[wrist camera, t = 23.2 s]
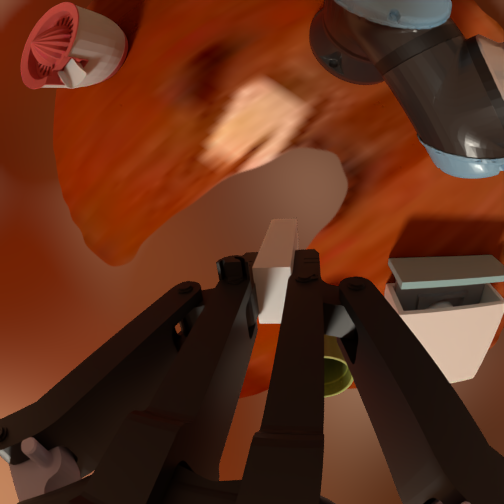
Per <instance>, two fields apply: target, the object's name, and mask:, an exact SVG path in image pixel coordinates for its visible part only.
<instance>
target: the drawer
mask: <svg viewBox="0 0 504 504" xmlns="http://www.w3.org/2000/svg"><path fill="white" fill-rule="evenodd" d="M388 265H389V267H390V269H391V271H392V273H393V274H394V276H395V278H396V281H395V288H394V291H395V293H396V295H397V297H398V299H399V302H400V304H401V306H402V309H403V311H411V310H424V309H427V308H428V307H429V306H430V305H432V304H433V303H435V302H438V301H448V302H450V303H451V304H452V306H453V307H455V306H464V305H472V304H479V303H480V300H481V296H482V293H483V290H484V286H485V283H493V282H503V281H504V265H503V264H502V263H500V262H499V261H498V260H497V259H496V258H495V257H494V256H493V255H472V256H445V257H414V258H389V261H388Z"/></svg>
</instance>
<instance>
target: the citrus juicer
mask: <svg viewBox="0 0 504 504" xmlns="http://www.w3.org/2000/svg"><path fill="white" fill-rule="evenodd" d="M127 52H128V40H127V37H126V35H125V33H124V32H123V30H122V29H121V28H120V27H119V26H118V25H117V24H116V23H114V22H113V21H112V20H110V19H109V18H107V17H105V16H103V15H101V14H98V13H96V12H93V11H90V10H87V9H84V8H81V7H78V6H76V5H75V4H73V3H71V2H64V3H60V4H58V5H56V6H54V7H53V8H51V9H50V10H49V11H48V12H47V13H46V14H44V15H43V17H42V18H41V19H40V20H39V21H38V22H37V24H36V25H35V27H34V28H33V30H32V32H31V34H30V35H29V38H28V40H27V42H26V45H25V47H24V50H23V54H22V60H21V76H22V79H23V82H24V84H25V85H26V86H27V87H29V88H30V89H38V88H41V87H53V88H54V87H55V88H71V89H72V88H77V87H84V86H89V85H93V84H97V83H100V82H102V81H105V80H107V79H108V78H110V77H112V76H113V75H114V74H115V73H116V72H117V71H118V70H119V69H120V67H121V66H122V64H123V62H124V60H125V58H126V55H127Z"/></svg>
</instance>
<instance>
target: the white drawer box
mask: <svg viewBox="0 0 504 504" xmlns="http://www.w3.org/2000/svg"><path fill="white" fill-rule="evenodd" d="M394 288H395V283H386V288H385V295H384V297H385V299H386V300H387V301H388V302H389V303H390V305H391V306H392V307H393V308H394V310H395V311H396V312H397V313H398V314H399V316H400V317H401V318H402V319H403V321H404V322H405V323H406V325H407V326H408V327H409V328H410V330H411V331H412V332H413V334H414V335H415V336H416V337H417V339H418V340H419V341H420V343H421V344H422V345H423V347H424V348H425V349H426V351H427V352H428V353H429V355H430V356H431V357H432V359H433V360H434V362H435V363H436V364H437V366H438V367H439V368H440V370H441V371H442V373H443V374H444V375H445V377H446V378H447V380H448V381H449V383H455V382H459V381H463V380H468V379H472V378H474V376H475V374H476V372H477V371H478V368H479V367H480V364H481V363H482V361H483V359H484V357H485V355H486V353H487V351H488V349H489V346H490V344H491V342H492V340H493V337H494V335H495V333H496V330H497V328H498V326H499V323H500V321H501V318H502V315H503V313H504V299H503V298H502V296H501V295H500V294H499V293H498V292H497V291H496V289H495V288H494V287H493V286H492V285H491V284H490V283H485V286H484V290H483V293H482V296H481V300H480V303H479V304H472V305H464V306H455V307H446V308H435V309H424V310H411V311H403V309H402V306H401V304H400V302H399V299H398V297H397V295H396V293H395V291H394Z"/></svg>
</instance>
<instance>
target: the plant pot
mask: <svg viewBox="0 0 504 504" xmlns="http://www.w3.org/2000/svg"><path fill="white" fill-rule="evenodd" d="M352 382H353V377H352V375H351V373H350V370H349V368H348V366H347V364H346V361H345V359H344V357H343V355H342V352H341V350H340V348H339V346H338V343H337V339H336V337H335V336H330V335H325V334H324V397H330V396H334V395H337V394H339V393H341V392H343V391H345V390H346V389H347V388H348V387H349V386H350V385H351V384H352Z"/></svg>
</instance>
